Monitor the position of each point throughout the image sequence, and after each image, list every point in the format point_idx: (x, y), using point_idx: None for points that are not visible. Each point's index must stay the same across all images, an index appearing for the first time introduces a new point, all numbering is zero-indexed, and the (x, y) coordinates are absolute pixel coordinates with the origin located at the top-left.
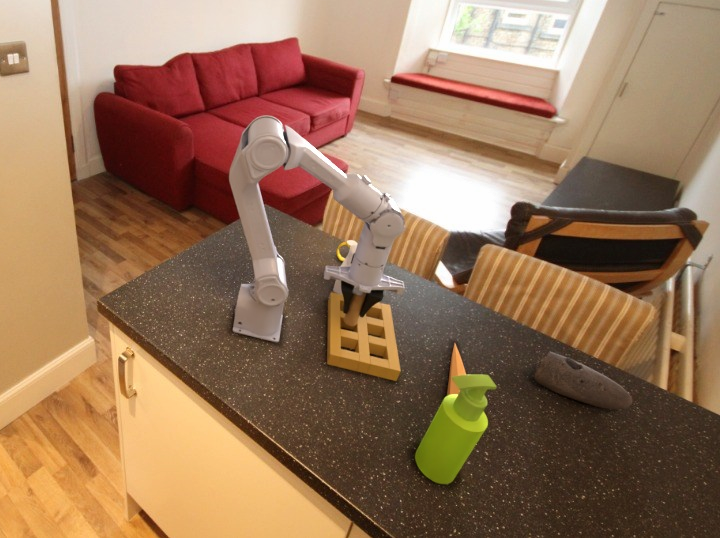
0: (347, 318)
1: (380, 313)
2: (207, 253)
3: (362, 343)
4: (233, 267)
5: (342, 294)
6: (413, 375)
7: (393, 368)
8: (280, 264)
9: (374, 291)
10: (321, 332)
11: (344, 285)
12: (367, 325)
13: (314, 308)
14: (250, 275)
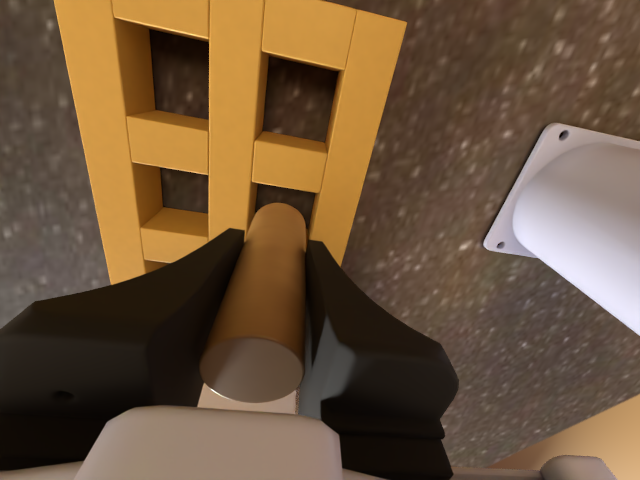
0: (299, 226)
1: None
2: (589, 405)
3: (237, 119)
4: (544, 379)
5: None
6: (21, 13)
7: None
8: None
9: (101, 407)
10: (368, 196)
11: (412, 420)
12: (206, 231)
13: (365, 287)
14: (510, 364)
